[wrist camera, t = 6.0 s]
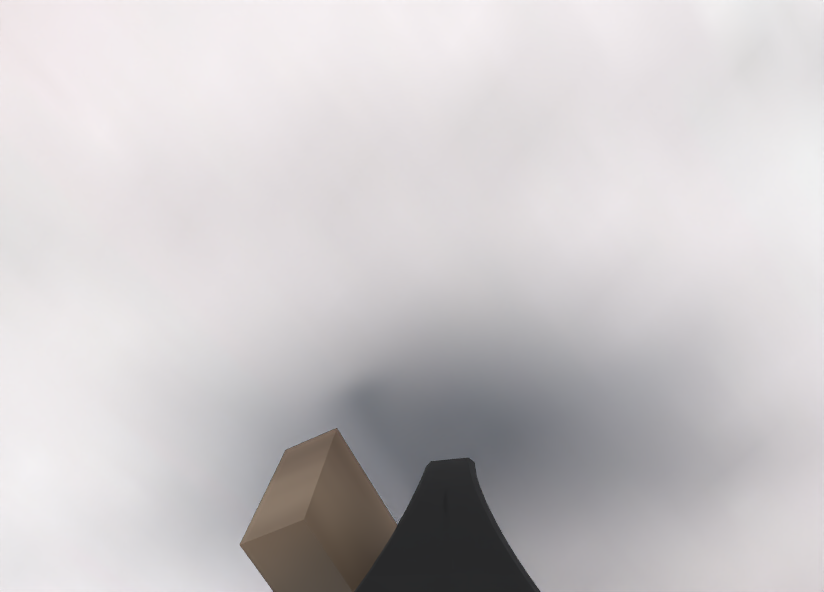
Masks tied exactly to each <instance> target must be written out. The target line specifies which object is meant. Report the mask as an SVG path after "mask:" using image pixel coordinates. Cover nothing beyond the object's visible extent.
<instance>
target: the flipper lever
mask: <svg viewBox="0 0 824 592" xmlns="http://www.w3.org/2000/svg"><path fill="white" fill-rule="evenodd" d="M396 527H397V524H396V522H395V521H394V519H393V517H392V516H391V514H390V513H389V511H388V509H387V508H386V506H385V505H384V503H383V501H382V500H381V498H380V497H379V495H378V493H377V492H376V490H375V488H374V487H373V485H372V484H371V482H370V480H369V479H368V477H367V476H366V474H365V472H364V471H363V469H362V468H361V466H360V464H359V463H358V461H357V460H356V458H355V456H354V455H353V453H352V451H351V450H350V448H349V447H348V445H347V443H346V442H345V440H344V439H343V437H342V435H341V434H340V432H339V431H338V429H337V428H336V429H333V430H331V431H329V432H326V433H324V434H322V435H319V436H317V437H315V438H312V439H310V440H308V441H305V442H303V443H301V444H298V445H296V446H294V447H291V448H289V449H287V450H285V452H284V454H283V456H282V459H281V461H280V463H279V465H278V467H277V469H276V471H275V473H274V475H273V477H272V479H271V481H270V483H269V485H268V487H267V489H266V492H265V494H264V496H263V498H262V500H261V502H260V504H259V506H258V508H257V510H256V512H255V514H254V516H253V518H252V520H251V522H250V524H249V527H248V529H247V531H246V533H245V535H244V537H243V539H242V541H241V543H240V546H241V547H242V549H243V550H244V552H245V553H246V554H247V556H248V557H249V558H250V560H251V561H252V563H253V564H254V565H255V567H256V568H257V569H258V571H259V572H260V574H261V575H262V576H263V578H264V579H265V581H266V582H267V583H268V585H269V586H270V587H271V589H272V590H273V592H354V591H355V590H356V588H357V587H358V586H359V584H360V583H361V581H362V580H363V579H364V577H365V576H366V574H367V573H368V572H369V570H370V569H371V567H372V566H373V564H374V562H375V561H376V559H377V558H378V556H379V555H380V553H381V552H382V550H383V548H384V547H385V545H386V544H387V542H388V541H389V539H390V537H391V536H392V534H393V532H394V530H395V529H396Z"/></svg>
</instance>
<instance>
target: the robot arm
mask: <svg viewBox="0 0 824 592" xmlns="http://www.w3.org/2000/svg"><path fill="white" fill-rule="evenodd" d="M354 592H540V590H539V589H538V588H537V586H536V585H535V584H534V582H533V581H532V579H531V578H530V576H529V575H528V574H527V572H526V571H525V569H524V568H523V566H522V565H521V563H520V562H519V560H518V559H517V557H516V555H515V554H514V552H513V551H512V549H511V547H510V546H509V544H508V542H507V541H506V539H505V537H504V536H503V534H502V532H501V530H500V528H499V526H498V524H497V523H496V521H495V519H494V517H493V515H492V513H491V511H490V509H489V507H488V505H487V503H486V500H485V498H484V496H483V493H482V491H481V488H480V485H479V483H478V479H477V476H476V469H475V463H474V462H473V461H472V460H471V459H469V458H460V459H450V460H440V461H431V462H430V463H429V464H428V465H427V466H426V468H425V471H424V473H423V476H422V478H421V480H420V482H419V485H418V487H417V489H416V491H415V493H414V495H413V497H412V499H411V501H410V503H409V505H408V507H407V509H406V511H405V512H404V514H403V516H402V518H401V520H400V521H399V523H398V525H397V527H396V529H395V530H394V532H393V534H392V536H391V537H390V539H389V541H388V542H387V544H386V545H385V547H384V548H383V550H382V552H381V553H380V555H379V556H378V558H377V559H376V561H375V562H374V564H373V566H372V567H371V569H370V570H369V572H368V573H367V574H366V576H365V577H364V579H363V580H362V581H361V583H360V584H359V586H358V587H357V588H356V590H355V591H354Z"/></svg>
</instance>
